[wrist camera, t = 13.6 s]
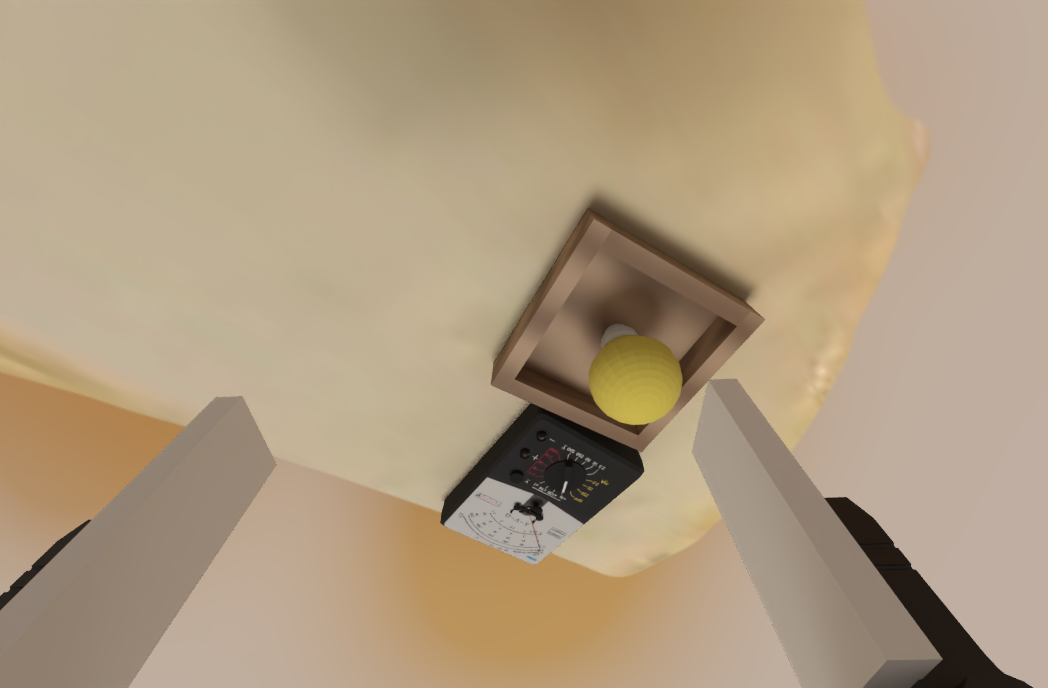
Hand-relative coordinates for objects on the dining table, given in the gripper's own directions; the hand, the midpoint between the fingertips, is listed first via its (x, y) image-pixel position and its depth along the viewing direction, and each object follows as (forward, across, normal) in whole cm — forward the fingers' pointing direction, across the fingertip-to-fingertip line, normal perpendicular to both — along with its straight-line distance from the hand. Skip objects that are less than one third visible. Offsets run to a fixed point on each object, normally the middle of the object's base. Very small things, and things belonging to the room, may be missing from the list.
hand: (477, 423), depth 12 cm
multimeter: (+23, +2, -28) cm, 37 cm away
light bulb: (+23, +9, -10) cm, 26 cm away
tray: (+23, +9, -11) cm, 27 cm away
